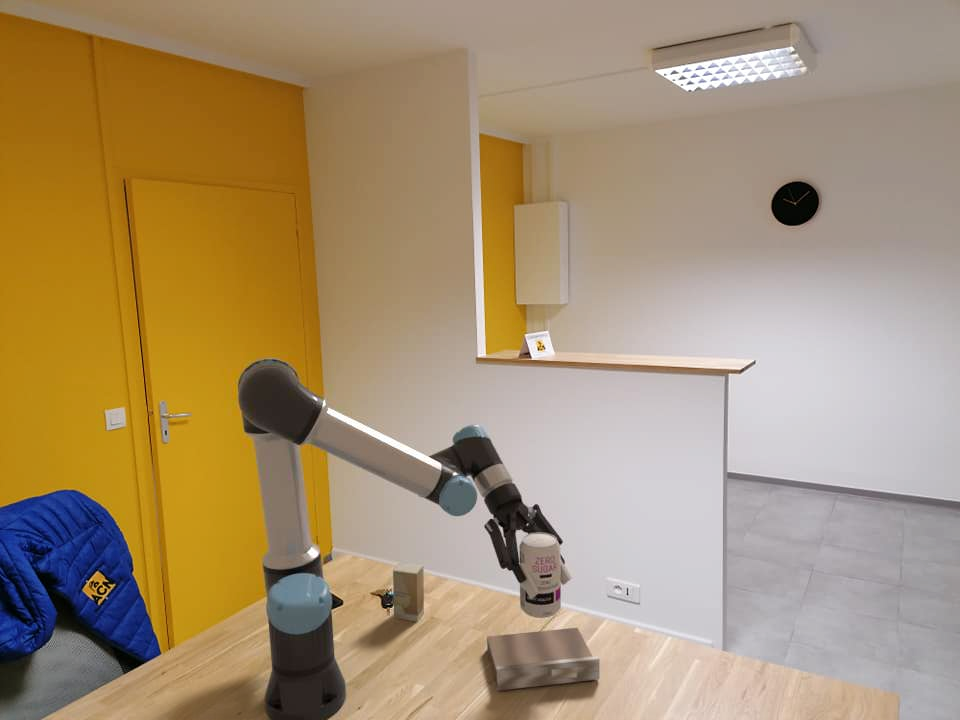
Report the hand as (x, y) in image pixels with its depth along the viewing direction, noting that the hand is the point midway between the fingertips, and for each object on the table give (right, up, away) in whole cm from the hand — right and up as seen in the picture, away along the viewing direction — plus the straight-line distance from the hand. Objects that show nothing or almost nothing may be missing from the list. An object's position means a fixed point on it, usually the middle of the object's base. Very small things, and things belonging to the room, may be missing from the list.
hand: (551, 588), depth 139 cm
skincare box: (-31, -15, +26) cm, 43 cm away
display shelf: (-2, -18, +6) cm, 19 cm away
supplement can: (-2, -6, +3) cm, 7 cm away
